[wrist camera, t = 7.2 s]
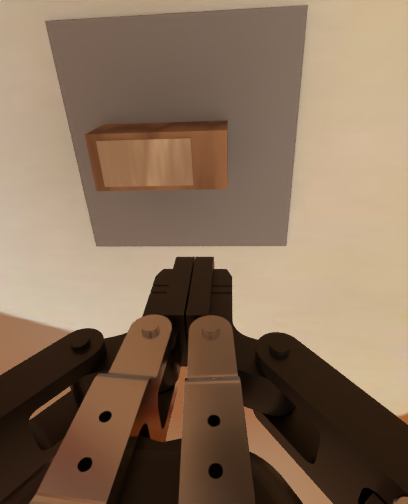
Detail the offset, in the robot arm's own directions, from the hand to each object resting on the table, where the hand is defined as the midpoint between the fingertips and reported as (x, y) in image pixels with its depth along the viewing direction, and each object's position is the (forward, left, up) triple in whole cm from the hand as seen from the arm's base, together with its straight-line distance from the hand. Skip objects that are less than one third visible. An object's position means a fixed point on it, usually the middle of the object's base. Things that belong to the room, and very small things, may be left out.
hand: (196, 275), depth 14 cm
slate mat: (-2, -2, -23) cm, 23 cm away
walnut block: (+1, +1, -20) cm, 20 cm away
